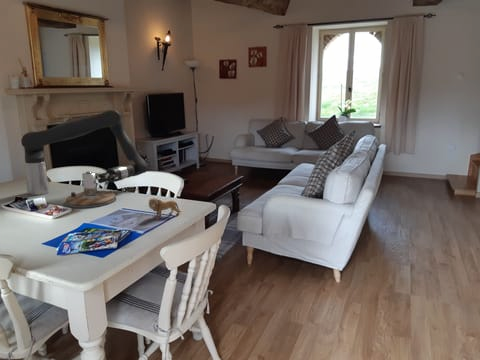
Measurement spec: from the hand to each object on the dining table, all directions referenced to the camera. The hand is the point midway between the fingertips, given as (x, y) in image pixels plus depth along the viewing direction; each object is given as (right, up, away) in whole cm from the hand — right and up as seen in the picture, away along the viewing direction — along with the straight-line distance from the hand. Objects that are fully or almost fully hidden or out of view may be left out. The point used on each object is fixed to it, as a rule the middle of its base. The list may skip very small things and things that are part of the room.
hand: (92, 180), depth 185 cm
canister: (-1, -8, 0) cm, 8 cm away
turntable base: (-1, -10, +1) cm, 11 cm away
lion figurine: (+41, -16, -22) cm, 49 cm away
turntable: (-1, -9, 0) cm, 9 cm away
